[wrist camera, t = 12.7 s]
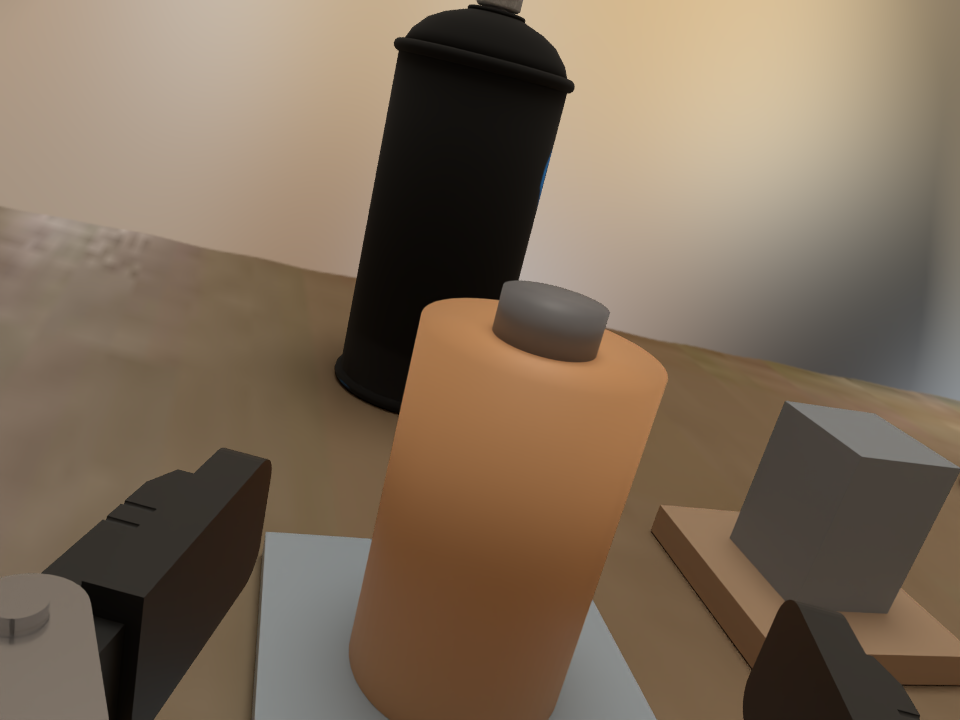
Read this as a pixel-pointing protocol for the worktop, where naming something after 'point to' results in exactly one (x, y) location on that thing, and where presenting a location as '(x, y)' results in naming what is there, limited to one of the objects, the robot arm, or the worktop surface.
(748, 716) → the robot arm
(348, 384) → the aerosol can
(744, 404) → the worktop surface
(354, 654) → the orange battery
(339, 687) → the pad
